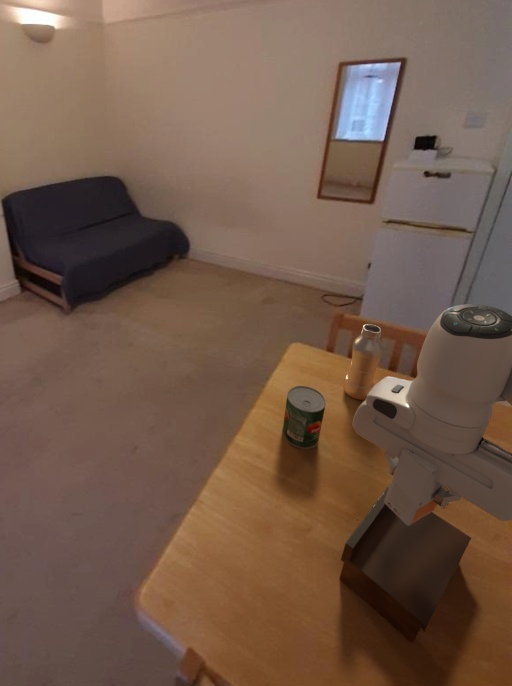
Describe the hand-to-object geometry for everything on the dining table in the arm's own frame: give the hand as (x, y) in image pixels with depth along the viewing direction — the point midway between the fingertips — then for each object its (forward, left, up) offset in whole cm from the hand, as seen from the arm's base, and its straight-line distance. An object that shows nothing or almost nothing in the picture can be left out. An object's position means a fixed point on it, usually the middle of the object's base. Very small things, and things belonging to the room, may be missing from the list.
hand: (416, 487), depth 60 cm
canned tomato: (+25, -12, -18) cm, 33 cm away
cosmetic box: (0, 0, -5) cm, 5 cm away
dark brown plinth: (-1, 0, -18) cm, 18 cm away
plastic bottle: (+23, -34, -18) cm, 45 cm away
